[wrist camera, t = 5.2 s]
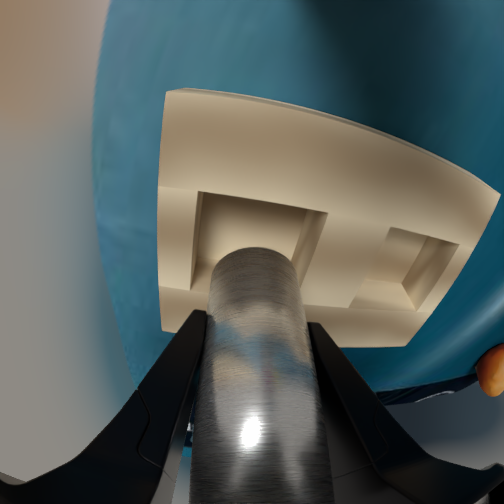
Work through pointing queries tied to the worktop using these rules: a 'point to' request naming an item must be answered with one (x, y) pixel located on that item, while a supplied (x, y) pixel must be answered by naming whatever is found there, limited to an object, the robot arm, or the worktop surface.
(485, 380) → the fruit
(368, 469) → the robot arm
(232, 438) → the pin
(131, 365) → the worktop surface
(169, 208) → the socket block
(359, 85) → the worktop surface
